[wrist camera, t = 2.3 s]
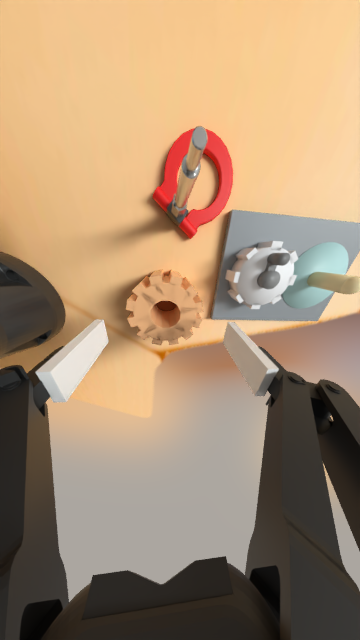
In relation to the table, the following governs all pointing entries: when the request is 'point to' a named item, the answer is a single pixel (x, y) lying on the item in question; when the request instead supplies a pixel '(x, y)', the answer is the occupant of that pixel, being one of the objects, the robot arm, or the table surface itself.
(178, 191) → the tow hook
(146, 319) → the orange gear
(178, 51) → the table surface
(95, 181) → the table surface
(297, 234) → the gear board
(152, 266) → the table surface
